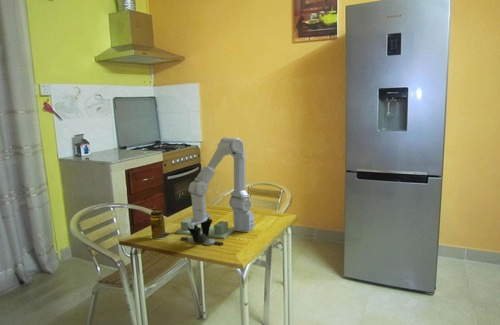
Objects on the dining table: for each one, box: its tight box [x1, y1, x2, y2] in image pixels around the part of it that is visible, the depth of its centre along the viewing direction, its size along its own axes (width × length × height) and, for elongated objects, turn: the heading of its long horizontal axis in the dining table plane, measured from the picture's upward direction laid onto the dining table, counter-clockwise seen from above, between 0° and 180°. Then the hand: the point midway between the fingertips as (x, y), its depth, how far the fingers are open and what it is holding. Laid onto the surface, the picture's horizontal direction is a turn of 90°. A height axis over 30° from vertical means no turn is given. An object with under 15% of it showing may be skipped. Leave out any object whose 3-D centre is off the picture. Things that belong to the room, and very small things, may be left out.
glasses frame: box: [180, 233, 224, 246], centre depth 144 cm, size 21×5×3 cm, turn 67°
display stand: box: [174, 217, 235, 240], centre depth 156 cm, size 26×10×5 cm, turn 67°
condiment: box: [149, 209, 172, 240], centre depth 154 cm, size 7×8×12 cm
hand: (201, 238), depth 144 cm, fingers open, 7 cm apart
